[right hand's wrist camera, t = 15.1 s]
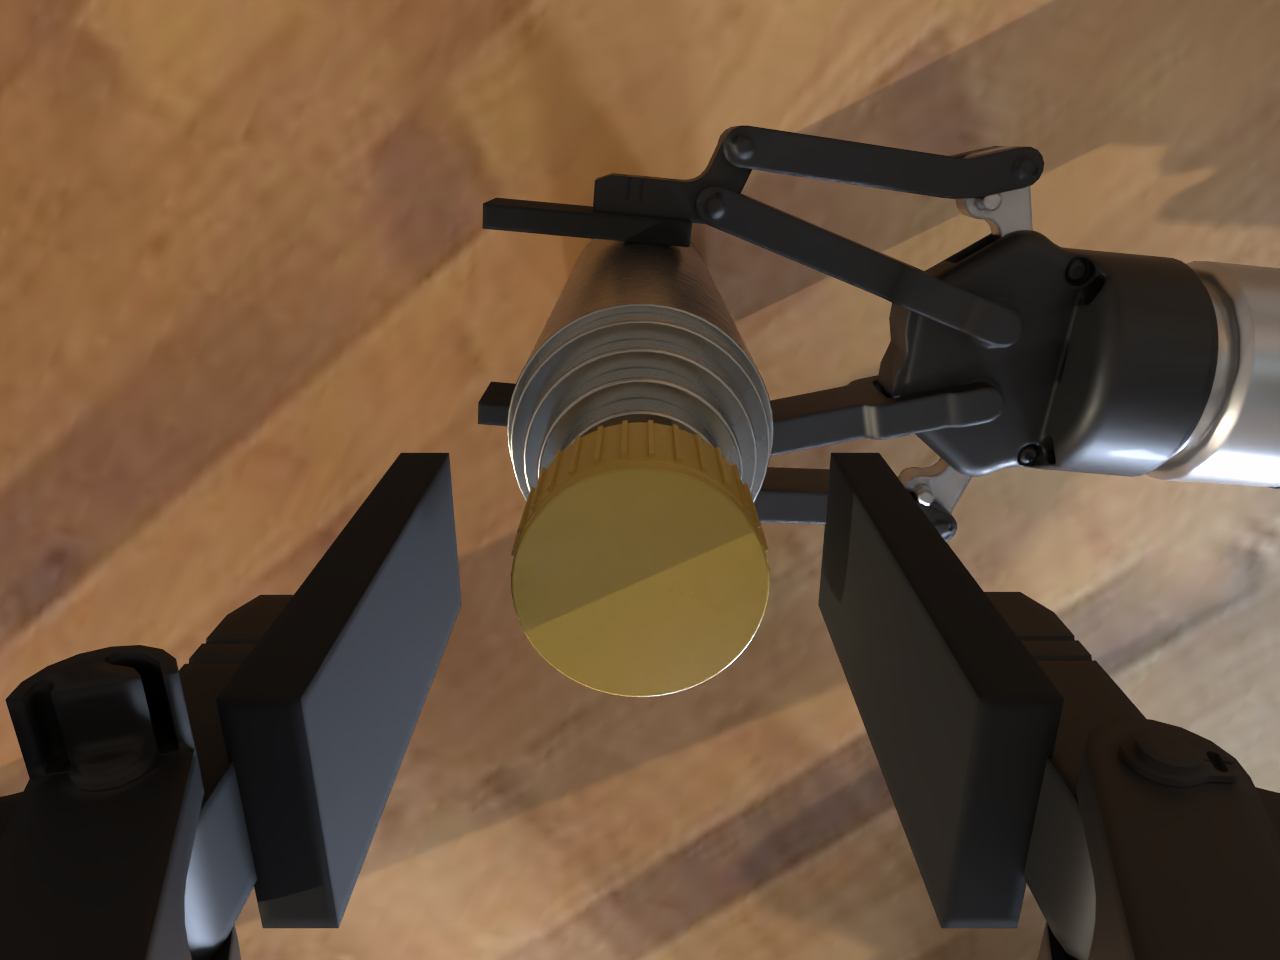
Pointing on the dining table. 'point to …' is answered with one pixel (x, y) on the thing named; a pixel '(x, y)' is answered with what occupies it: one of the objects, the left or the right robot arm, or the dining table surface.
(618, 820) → the dining table surface
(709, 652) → the cap
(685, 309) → the bottle
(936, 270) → the left robot arm
